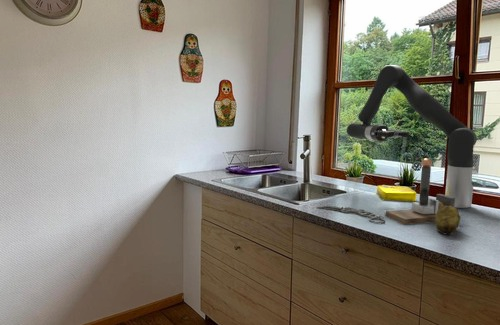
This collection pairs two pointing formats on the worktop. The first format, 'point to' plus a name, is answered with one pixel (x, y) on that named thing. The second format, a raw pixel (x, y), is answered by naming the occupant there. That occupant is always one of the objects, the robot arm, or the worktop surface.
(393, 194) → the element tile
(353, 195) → the worktop surface
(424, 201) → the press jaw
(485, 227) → the worktop surface
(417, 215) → the base
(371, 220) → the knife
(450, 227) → the potato
